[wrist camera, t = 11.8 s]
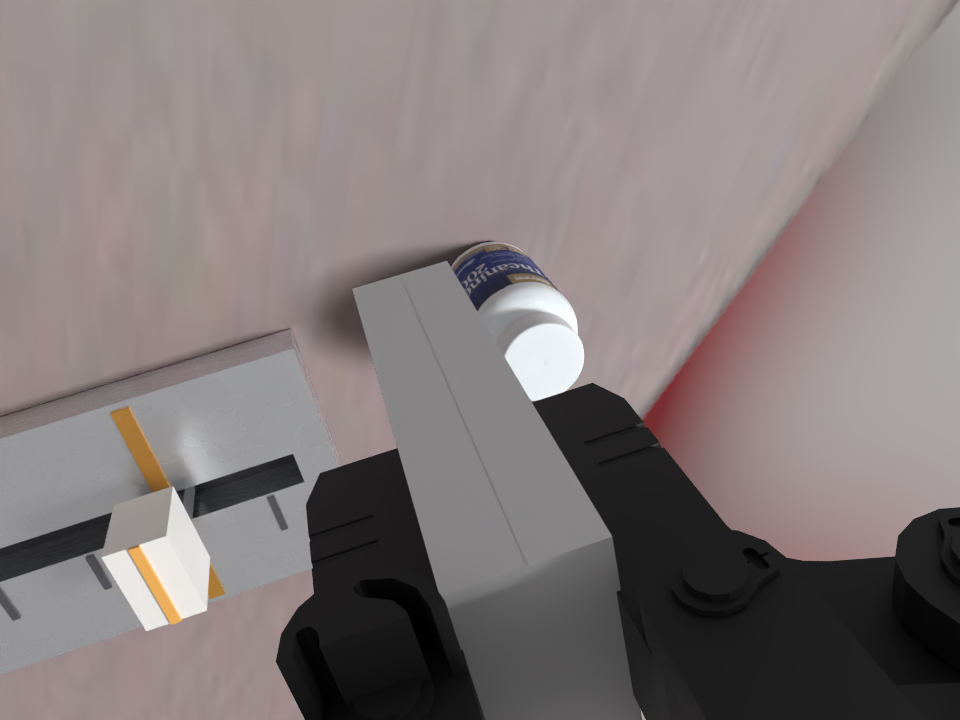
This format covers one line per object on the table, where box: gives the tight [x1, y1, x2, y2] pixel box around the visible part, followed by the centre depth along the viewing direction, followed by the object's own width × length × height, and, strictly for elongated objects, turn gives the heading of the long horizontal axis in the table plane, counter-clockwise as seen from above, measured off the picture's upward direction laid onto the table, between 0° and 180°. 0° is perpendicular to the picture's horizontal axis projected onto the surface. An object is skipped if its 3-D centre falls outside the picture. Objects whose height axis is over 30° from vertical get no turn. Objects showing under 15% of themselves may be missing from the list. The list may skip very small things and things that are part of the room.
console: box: [0, 329, 342, 675], centre depth 44 cm, size 14×28×3 cm, turn 102°
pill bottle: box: [451, 241, 584, 401], centre depth 41 cm, size 5×5×10 cm
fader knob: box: [101, 486, 210, 631], centre depth 42 cm, size 5×3×8 cm, turn 13°
